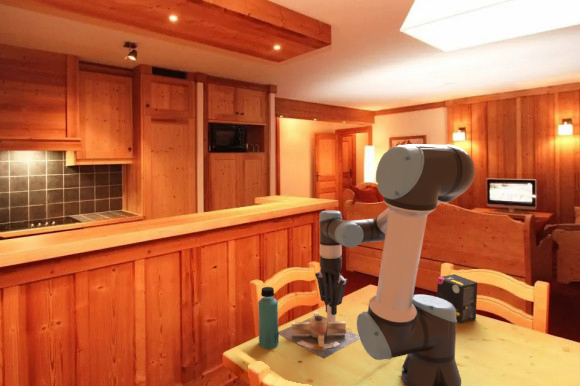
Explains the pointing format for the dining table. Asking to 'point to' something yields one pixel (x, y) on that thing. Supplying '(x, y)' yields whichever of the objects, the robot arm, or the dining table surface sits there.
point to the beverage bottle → (268, 319)
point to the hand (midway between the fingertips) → (331, 322)
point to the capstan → (319, 327)
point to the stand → (311, 343)
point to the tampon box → (459, 296)
